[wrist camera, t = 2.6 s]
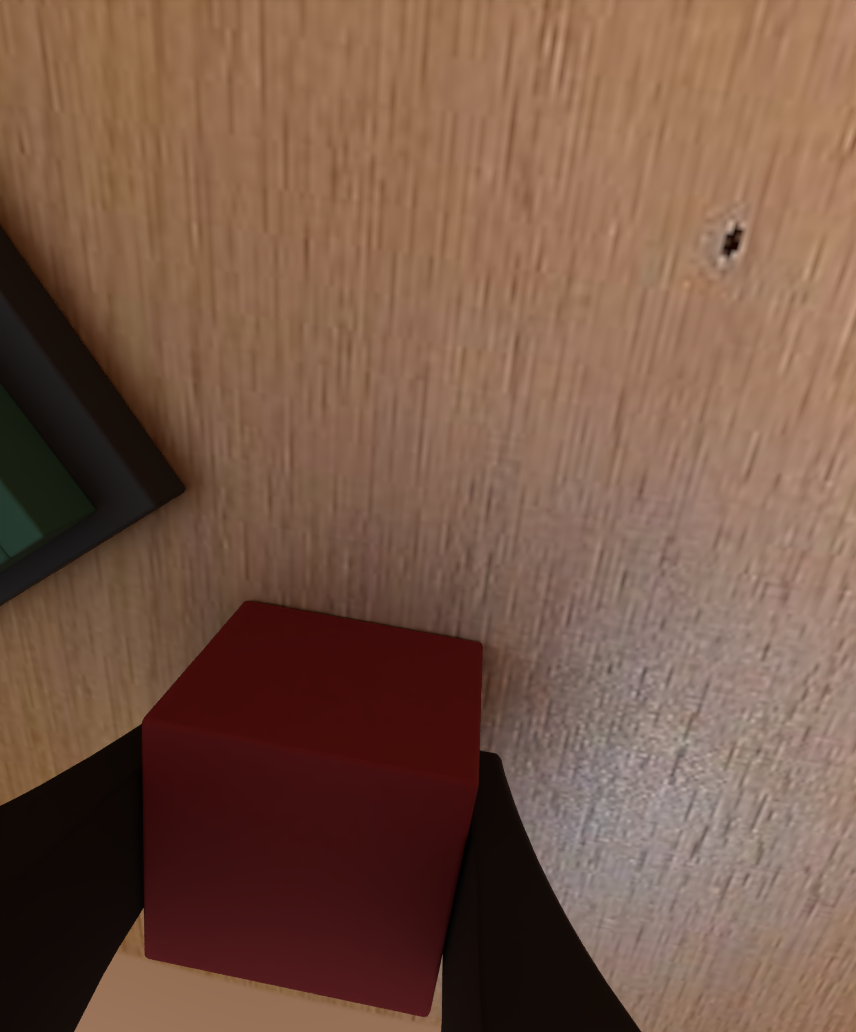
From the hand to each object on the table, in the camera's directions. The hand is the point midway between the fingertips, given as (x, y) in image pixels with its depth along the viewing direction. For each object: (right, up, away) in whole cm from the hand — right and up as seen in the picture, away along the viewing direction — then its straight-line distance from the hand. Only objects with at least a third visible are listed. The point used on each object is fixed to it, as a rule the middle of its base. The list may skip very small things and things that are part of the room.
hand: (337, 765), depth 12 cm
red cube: (0, 0, +1) cm, 1 cm away
